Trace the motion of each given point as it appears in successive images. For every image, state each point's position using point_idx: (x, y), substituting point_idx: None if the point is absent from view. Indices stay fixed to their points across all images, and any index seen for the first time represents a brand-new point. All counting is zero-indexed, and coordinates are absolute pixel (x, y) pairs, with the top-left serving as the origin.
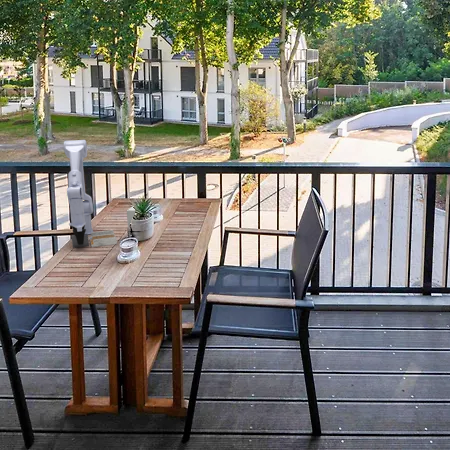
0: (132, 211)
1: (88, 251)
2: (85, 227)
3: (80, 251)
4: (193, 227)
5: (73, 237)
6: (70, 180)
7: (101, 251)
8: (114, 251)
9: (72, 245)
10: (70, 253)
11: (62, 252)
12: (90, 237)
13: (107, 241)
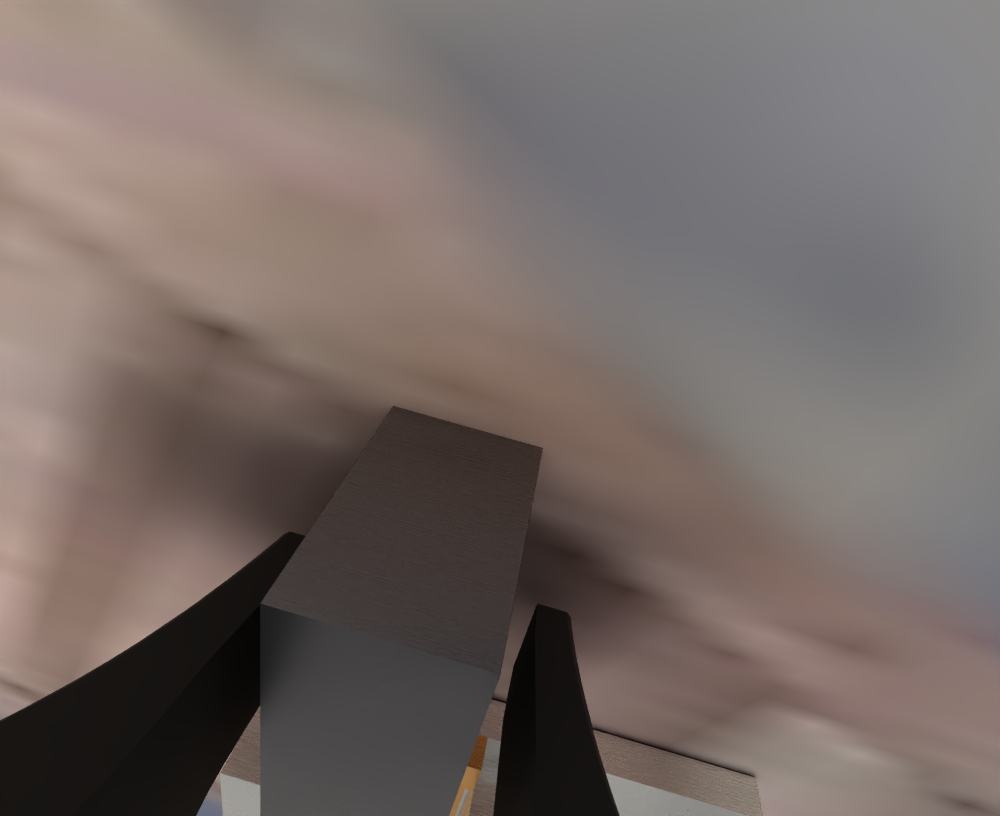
0: None
1: (72, 527)
2: None
3: (103, 437)
4: None
5: (269, 628)
6: None
7: (35, 635)
8: (9, 713)
9: (425, 442)
10: (12, 236)
11: (130, 77)
12: (702, 812)
13: None
